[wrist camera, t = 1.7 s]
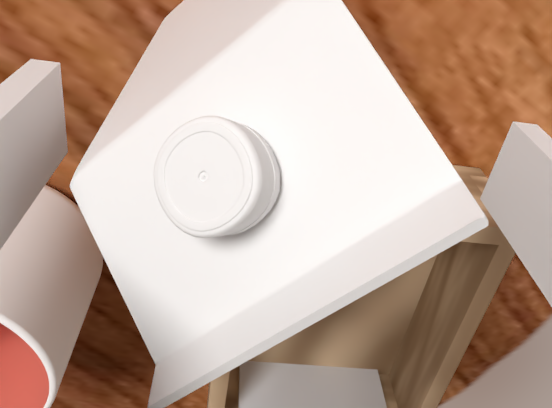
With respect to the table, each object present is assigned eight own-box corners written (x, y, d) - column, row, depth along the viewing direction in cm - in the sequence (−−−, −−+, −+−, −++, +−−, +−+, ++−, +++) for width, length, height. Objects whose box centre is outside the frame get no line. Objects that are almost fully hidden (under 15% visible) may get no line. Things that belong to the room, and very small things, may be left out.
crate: (210, 361, 37) (204, 437, 32) (235, 140, 28) (231, 201, 23) (395, 373, 39) (416, 448, 34) (479, 168, 29) (526, 230, 24)
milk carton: (370, 42, 25) (571, 344, 9) (257, 126, 27) (264, 484, 11) (282, -89, 22) (359, 29, 6) (162, 18, 24) (-12, 309, 8)
